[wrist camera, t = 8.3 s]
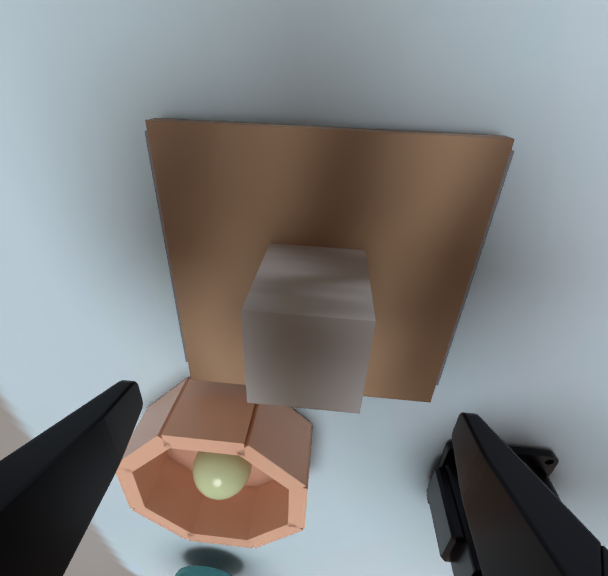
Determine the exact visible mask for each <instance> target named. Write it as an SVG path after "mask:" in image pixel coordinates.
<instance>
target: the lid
mask: <svg viewBox="0 0 608 576" xmlns="http://www.w3.org/2000/svg"><path fill="white" fill-rule="evenodd" d="M145 121H146V127H147V132H148V138H149V144H150V149H151V155H152V161H153V166H154V172H155V178H156V183H157V189H158V195H159V200H160V206H161V212H162V217H163V223H164V229H165V234H166V240H167V246H168V251H169V257H170V263H171V268H172V274H173V279H174V285H175V291H176V296H177V302H178V308H179V313H180V319H181V325H182V330H183V336H184V342H185V347H186V353H187V359H188V364H189V370H190V376H191V380H199V381H210V382H220V383H231V384H241V385H246V393H247V403H256V404H267V405H277V406H287V407H297V408H308V409H318V410H328V411H338V412H349V413H359V414H360V408H361V403H362V397H363V396H369V397H379V398H390V399H400V400H411V401H422V402H431V399H432V395H433V392H434V389H435V386H436V383H437V380H438V377H439V374H440V370H441V367H442V364H443V361H444V358H445V355H446V352H447V349H448V345H449V342H450V339H451V336H452V333H453V330H454V327H455V324H456V320H457V317H458V314H459V311H460V308H461V305H462V302H463V299H464V295H465V292H466V289H467V286H468V283H469V280H470V277H471V274H472V270H473V267H474V264H475V261H476V258H477V255H478V252H479V249H480V245H481V242H482V239H483V236H484V233H485V230H486V227H487V224H488V220H489V217H490V214H491V211H492V208H493V205H494V202H495V199H496V195H497V192H498V189H499V186H500V183H501V180H502V177H503V174H504V170H505V167H506V164H507V161H508V158H509V155H510V152H511V149H512V145H513V142H514V139H513V138H510V137H507V136H497V135H477V134H458V133H438V132H418V131H398V130H379V129H359V128H339V127H319V126H300V125H280V124H260V123H241V122H221V121H201V120H181V119H162V118H154V119H149V120H145Z"/></svg>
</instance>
